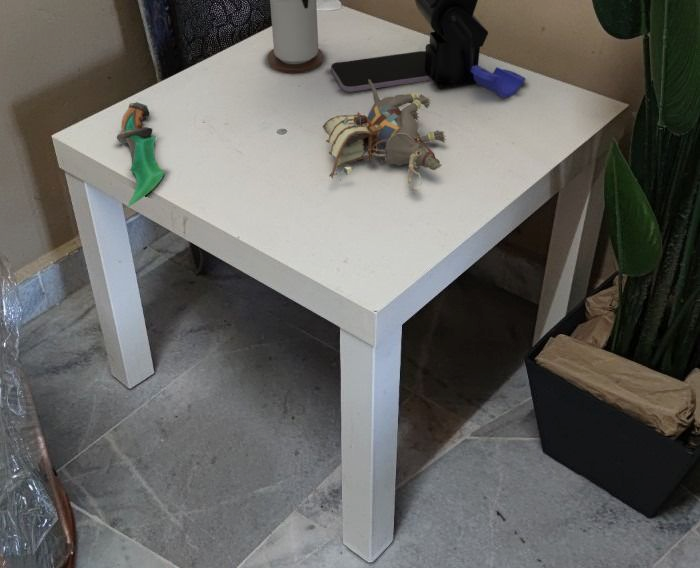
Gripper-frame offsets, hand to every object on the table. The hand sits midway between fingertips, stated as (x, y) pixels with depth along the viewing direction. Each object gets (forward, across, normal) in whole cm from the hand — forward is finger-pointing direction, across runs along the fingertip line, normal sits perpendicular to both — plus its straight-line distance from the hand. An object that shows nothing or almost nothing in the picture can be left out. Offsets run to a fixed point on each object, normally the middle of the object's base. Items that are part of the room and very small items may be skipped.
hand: (340, 2), depth 116 cm
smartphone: (+13, -8, -3) cm, 16 cm away
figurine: (+13, 0, +16) cm, 21 cm away
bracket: (+10, -21, +5) cm, 24 cm away
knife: (+13, +26, +8) cm, 30 cm away
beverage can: (+13, +4, -11) cm, 17 cm away
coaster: (+13, +4, -11) cm, 17 cm away
